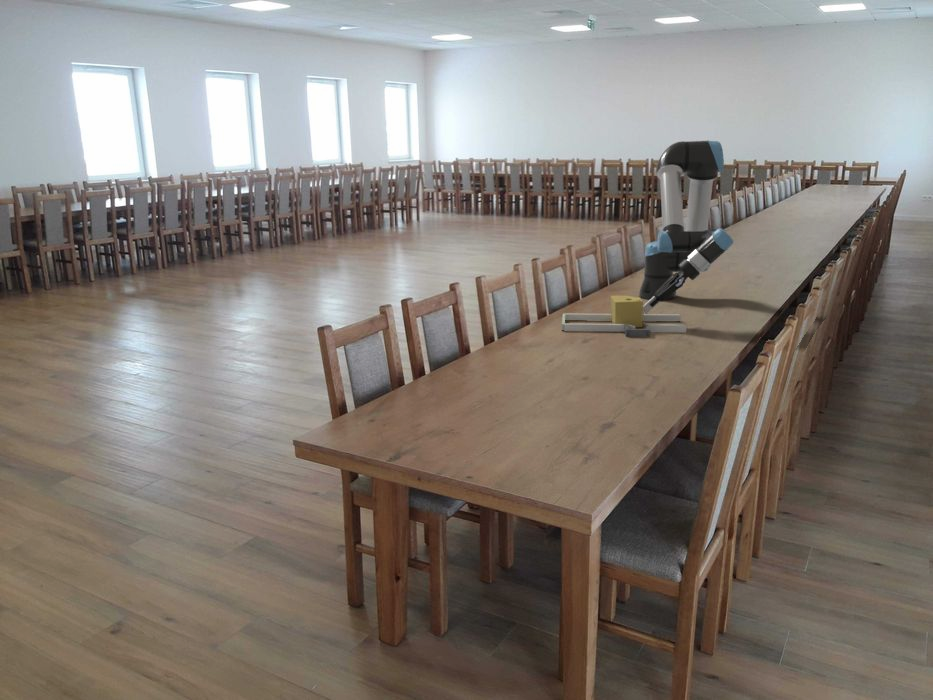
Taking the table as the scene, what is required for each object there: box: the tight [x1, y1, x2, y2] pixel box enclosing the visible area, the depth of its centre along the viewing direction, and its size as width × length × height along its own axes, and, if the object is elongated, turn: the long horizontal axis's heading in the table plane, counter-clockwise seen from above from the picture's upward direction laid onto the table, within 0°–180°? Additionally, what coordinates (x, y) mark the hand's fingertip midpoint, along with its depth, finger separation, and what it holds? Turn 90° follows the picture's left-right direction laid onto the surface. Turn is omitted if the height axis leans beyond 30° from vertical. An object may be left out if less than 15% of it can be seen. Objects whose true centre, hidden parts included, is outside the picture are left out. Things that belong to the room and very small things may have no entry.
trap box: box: [561, 311, 687, 338], centre depth 273 cm, size 29×43×2 cm
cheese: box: [610, 295, 644, 329], centre depth 272 cm, size 10×11×10 cm
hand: (643, 311), depth 273 cm, fingers closed
